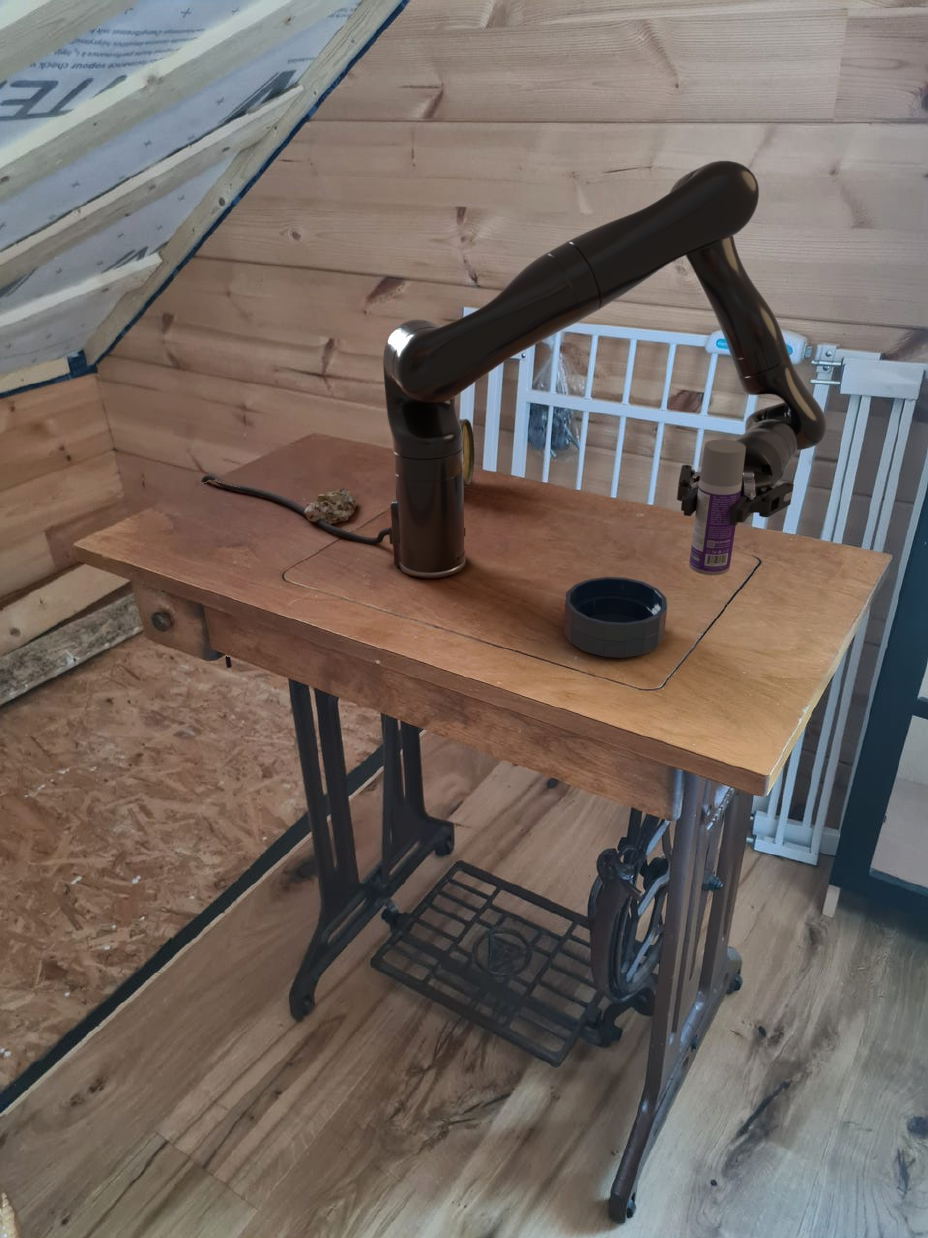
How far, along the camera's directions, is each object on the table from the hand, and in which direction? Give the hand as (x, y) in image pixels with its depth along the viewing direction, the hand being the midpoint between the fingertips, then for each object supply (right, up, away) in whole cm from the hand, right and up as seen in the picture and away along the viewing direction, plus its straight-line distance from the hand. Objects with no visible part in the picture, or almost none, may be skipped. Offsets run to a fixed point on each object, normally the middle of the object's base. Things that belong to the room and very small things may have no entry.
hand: (710, 512), depth 103 cm
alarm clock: (-29, +10, +52) cm, 60 cm away
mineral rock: (-49, +5, +44) cm, 66 cm away
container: (+1, -6, +6) cm, 9 cm away
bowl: (-9, -14, +9) cm, 19 cm away
